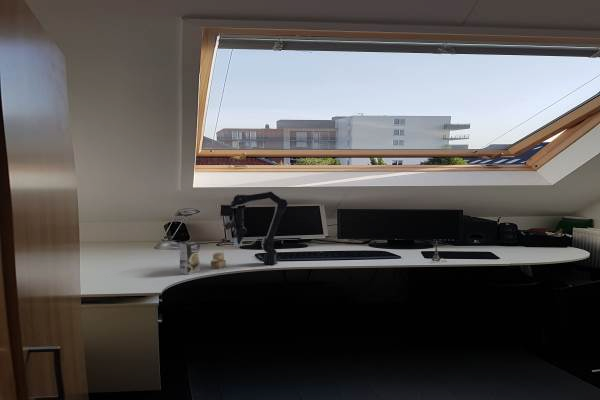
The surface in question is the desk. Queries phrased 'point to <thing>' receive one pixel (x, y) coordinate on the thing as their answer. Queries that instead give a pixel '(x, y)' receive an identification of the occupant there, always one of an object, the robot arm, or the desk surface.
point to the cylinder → (237, 242)
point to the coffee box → (189, 257)
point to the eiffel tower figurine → (437, 257)
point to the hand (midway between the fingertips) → (237, 243)
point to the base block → (218, 264)
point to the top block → (218, 257)
